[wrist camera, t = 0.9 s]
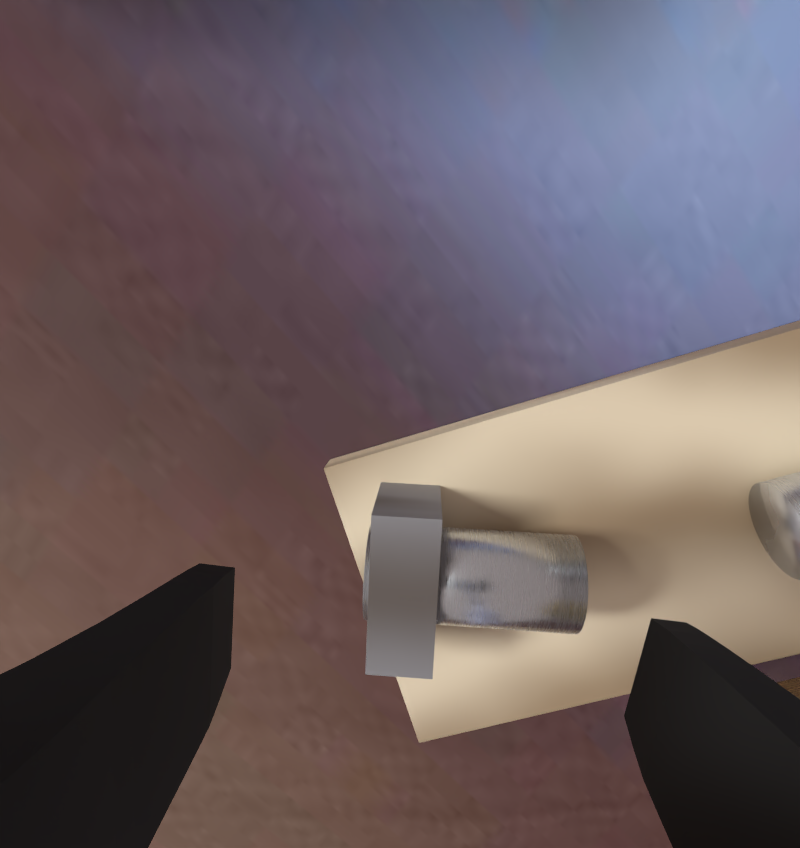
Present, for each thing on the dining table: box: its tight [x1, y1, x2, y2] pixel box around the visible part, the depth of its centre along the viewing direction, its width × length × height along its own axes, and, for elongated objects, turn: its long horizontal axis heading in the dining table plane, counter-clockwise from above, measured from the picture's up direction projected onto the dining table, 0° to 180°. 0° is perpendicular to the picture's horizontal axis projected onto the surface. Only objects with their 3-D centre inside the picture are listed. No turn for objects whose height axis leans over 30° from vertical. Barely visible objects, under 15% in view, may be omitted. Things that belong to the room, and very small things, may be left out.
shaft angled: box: [363, 525, 588, 634], centre depth 17 cm, size 6×3×3 cm, turn 87°
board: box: [324, 321, 800, 743], centre depth 17 cm, size 11×20×4 cm, turn 107°
